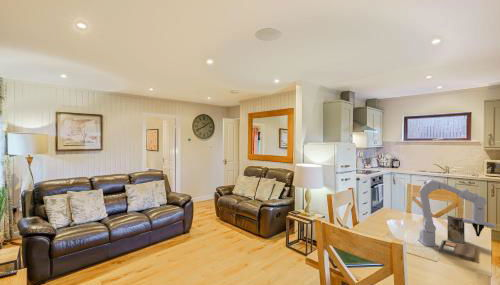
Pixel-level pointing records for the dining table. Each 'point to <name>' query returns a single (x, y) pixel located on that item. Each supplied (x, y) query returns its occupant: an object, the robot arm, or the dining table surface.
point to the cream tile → (448, 248)
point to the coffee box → (456, 229)
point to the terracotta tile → (450, 244)
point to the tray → (444, 249)
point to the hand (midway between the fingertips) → (477, 235)
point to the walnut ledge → (464, 251)
